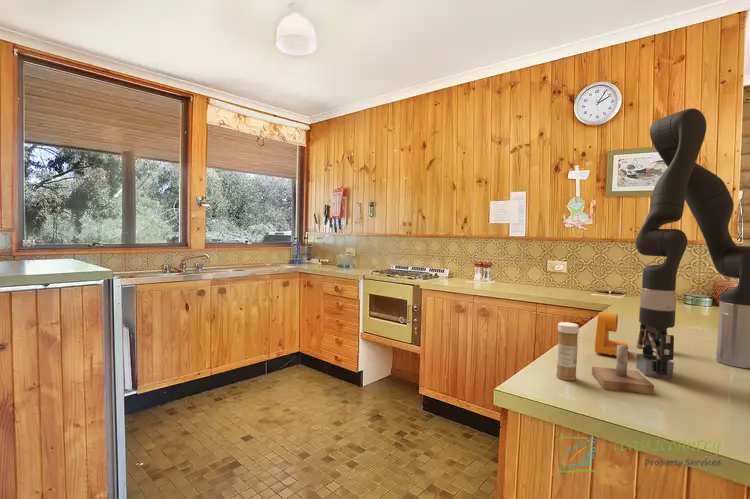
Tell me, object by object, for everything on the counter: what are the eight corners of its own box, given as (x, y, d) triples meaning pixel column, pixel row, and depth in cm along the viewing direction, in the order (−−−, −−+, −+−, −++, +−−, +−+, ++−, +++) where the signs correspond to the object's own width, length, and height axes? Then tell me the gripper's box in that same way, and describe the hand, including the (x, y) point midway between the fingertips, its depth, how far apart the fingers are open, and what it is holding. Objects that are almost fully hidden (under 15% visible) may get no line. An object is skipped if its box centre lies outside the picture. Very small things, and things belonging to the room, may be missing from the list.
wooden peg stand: (636, 378, 99) (638, 342, 98) (653, 394, 89) (655, 354, 89) (591, 374, 101) (593, 339, 101) (603, 388, 92) (605, 350, 91)
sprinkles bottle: (564, 373, 101) (566, 321, 101) (580, 379, 97) (583, 325, 96) (551, 376, 99) (554, 322, 99) (567, 382, 95) (570, 326, 94)
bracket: (623, 359, 114) (625, 318, 114) (594, 354, 119) (596, 314, 118) (627, 351, 123) (629, 312, 122) (600, 346, 127) (602, 309, 127)
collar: (662, 370, 105) (662, 355, 105) (672, 378, 99) (673, 362, 99) (636, 368, 107) (637, 353, 106) (645, 375, 101) (646, 360, 101)
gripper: (688, 313, 94) (684, 380, 95) (661, 303, 108) (658, 362, 109) (652, 310, 96) (648, 376, 97) (630, 301, 110) (627, 359, 111)
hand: (653, 369), depth 103 cm, fingers open, 8 cm apart
